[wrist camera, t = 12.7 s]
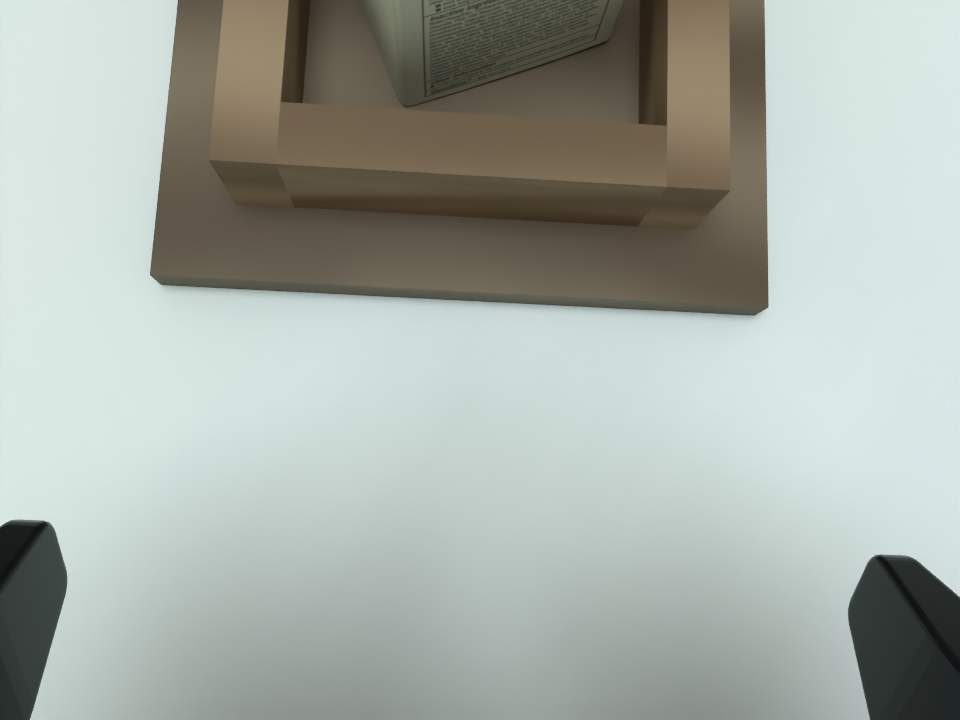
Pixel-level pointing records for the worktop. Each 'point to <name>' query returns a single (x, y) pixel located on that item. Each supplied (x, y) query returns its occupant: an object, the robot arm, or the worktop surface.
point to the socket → (469, 164)
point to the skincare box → (479, 39)
